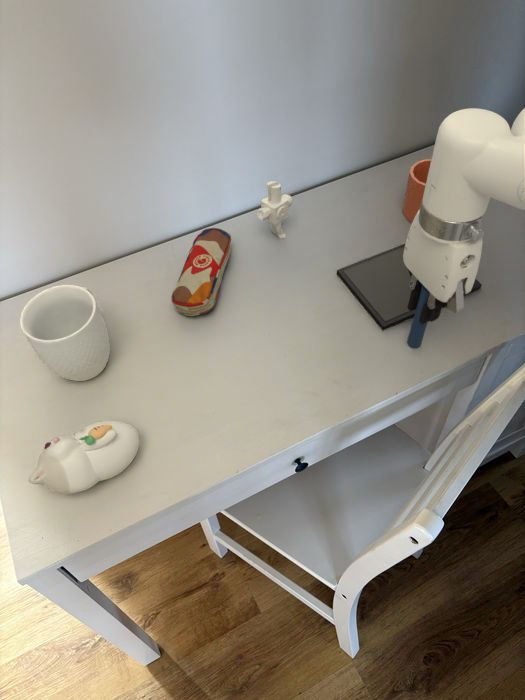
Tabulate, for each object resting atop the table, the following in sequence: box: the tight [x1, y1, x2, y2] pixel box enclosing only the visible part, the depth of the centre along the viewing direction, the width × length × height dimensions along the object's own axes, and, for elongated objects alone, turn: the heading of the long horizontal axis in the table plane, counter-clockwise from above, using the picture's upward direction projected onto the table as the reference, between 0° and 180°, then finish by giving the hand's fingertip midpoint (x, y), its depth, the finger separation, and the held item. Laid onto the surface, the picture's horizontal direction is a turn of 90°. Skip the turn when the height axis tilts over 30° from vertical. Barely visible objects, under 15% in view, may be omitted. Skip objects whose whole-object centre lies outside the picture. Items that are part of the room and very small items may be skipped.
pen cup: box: [402, 158, 432, 224], centre depth 102 cm, size 9×9×9 cm
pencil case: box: [170, 227, 232, 317], centre depth 96 cm, size 11×20×5 cm, turn 155°
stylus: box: [406, 285, 430, 349], centre depth 81 cm, size 2×2×13 cm
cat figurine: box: [28, 420, 140, 495], centre depth 73 cm, size 10×8×15 cm
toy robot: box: [256, 180, 293, 239], centre depth 99 cm, size 4×8×12 cm, turn 133°
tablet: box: [336, 242, 483, 331], centre depth 94 cm, size 20×15×1 cm
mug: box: [19, 284, 111, 382], centre depth 83 cm, size 15×11×13 cm
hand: (422, 312), depth 80 cm, fingers closed on stylus, 2 cm apart
